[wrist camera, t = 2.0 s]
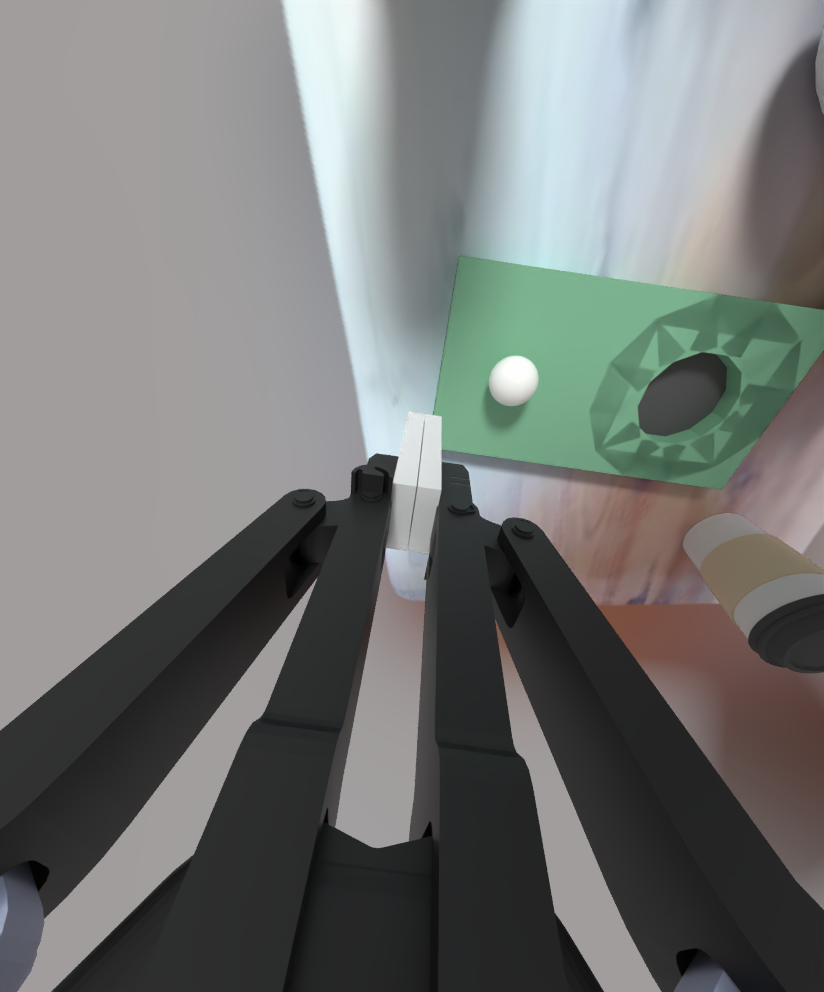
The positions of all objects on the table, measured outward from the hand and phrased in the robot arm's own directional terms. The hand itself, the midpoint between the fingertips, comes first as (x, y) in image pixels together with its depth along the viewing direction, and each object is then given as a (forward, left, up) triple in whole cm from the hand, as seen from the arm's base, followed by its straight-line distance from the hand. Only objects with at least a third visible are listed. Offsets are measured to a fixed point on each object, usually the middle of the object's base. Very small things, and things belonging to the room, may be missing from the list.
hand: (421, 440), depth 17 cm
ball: (0, +7, -14) cm, 16 cm away
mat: (0, +16, -18) cm, 24 cm away
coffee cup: (+15, +36, -19) cm, 43 cm away
